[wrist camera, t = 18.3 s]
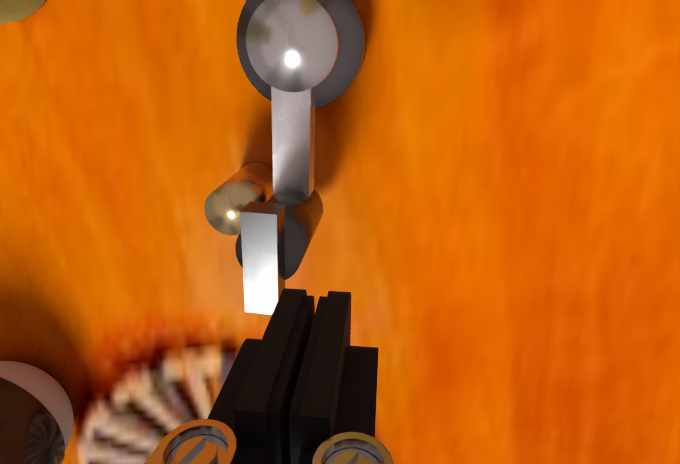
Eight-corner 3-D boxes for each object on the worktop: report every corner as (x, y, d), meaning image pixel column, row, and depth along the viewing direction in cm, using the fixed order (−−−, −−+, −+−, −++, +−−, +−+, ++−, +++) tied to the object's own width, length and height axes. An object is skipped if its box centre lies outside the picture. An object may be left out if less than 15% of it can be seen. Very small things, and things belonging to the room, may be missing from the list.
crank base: (221, -23, 23) (175, -39, 18) (367, -24, 22) (358, -42, 17) (240, 201, 27) (207, 233, 22) (361, 206, 26) (353, 241, 22)
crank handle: (254, -7, 21) (188, -28, 14) (342, -4, 20) (315, -24, 14) (261, 241, 25) (214, 308, 19) (333, 248, 25) (309, 318, 19)
